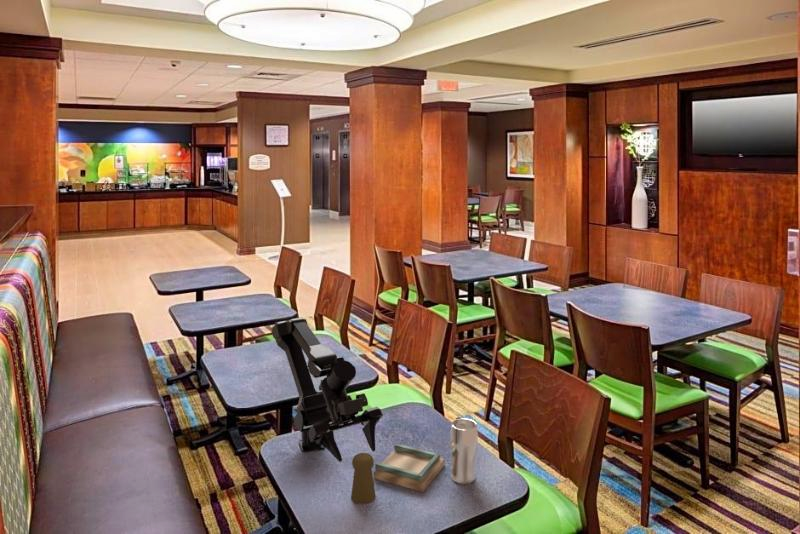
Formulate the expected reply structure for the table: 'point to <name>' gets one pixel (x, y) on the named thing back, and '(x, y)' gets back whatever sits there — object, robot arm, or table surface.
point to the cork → (363, 479)
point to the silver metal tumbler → (463, 449)
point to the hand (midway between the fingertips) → (357, 456)
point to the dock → (409, 467)
